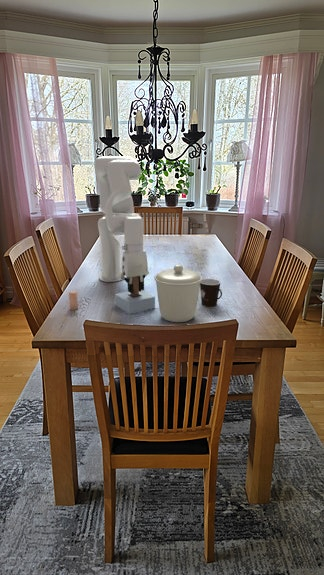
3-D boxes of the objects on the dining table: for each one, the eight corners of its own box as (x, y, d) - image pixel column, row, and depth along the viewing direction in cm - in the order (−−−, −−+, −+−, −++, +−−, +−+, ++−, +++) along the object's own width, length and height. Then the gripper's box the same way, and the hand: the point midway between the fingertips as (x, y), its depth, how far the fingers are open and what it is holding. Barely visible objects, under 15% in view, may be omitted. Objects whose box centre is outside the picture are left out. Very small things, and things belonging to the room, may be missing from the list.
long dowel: (133, 305, 162) (133, 274, 158) (129, 302, 165) (129, 272, 161) (140, 303, 164) (140, 273, 160) (136, 301, 167) (136, 271, 163)
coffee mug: (197, 300, 172) (198, 278, 169) (217, 300, 173) (218, 278, 170) (201, 310, 161) (202, 287, 158) (222, 310, 162) (224, 287, 159)
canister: (194, 307, 164) (196, 258, 158) (206, 325, 147) (208, 270, 141) (151, 310, 162) (151, 259, 155) (157, 328, 145) (157, 272, 138)
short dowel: (68, 308, 163) (67, 292, 161) (76, 306, 165) (75, 290, 163) (71, 310, 161) (70, 294, 159) (79, 308, 163) (78, 292, 160)
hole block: (115, 305, 167) (115, 293, 165) (140, 299, 173) (139, 288, 172) (129, 314, 157) (129, 302, 156) (155, 308, 164) (154, 296, 162)
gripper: (120, 252, 150) (121, 297, 156) (156, 247, 159) (156, 290, 164) (111, 248, 156) (112, 292, 162) (146, 243, 165) (147, 285, 170)
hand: (134, 291), depth 163 cm, fingers closed on long dowel, 3 cm apart
